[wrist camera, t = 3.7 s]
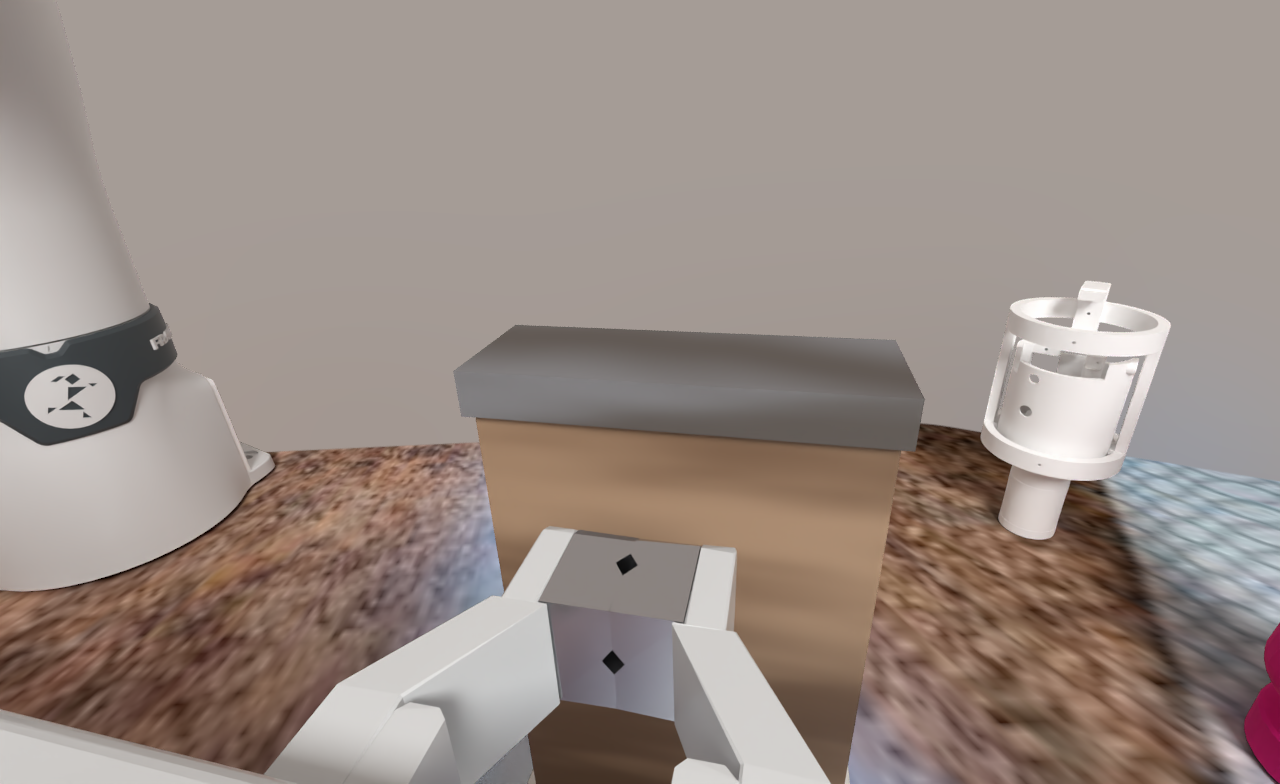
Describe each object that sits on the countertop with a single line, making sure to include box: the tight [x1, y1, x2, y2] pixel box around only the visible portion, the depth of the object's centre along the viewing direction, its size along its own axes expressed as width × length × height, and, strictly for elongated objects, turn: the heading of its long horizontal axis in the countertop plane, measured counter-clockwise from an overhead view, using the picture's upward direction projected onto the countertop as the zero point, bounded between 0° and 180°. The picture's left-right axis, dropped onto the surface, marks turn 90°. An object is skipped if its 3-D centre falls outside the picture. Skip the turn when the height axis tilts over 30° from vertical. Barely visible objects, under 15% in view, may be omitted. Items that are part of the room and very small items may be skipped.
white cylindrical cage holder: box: [981, 281, 1171, 540], centre depth 34 cm, size 7×7×15 cm
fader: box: [454, 325, 924, 784], centre depth 18 cm, size 4×10×17 cm, turn 77°
